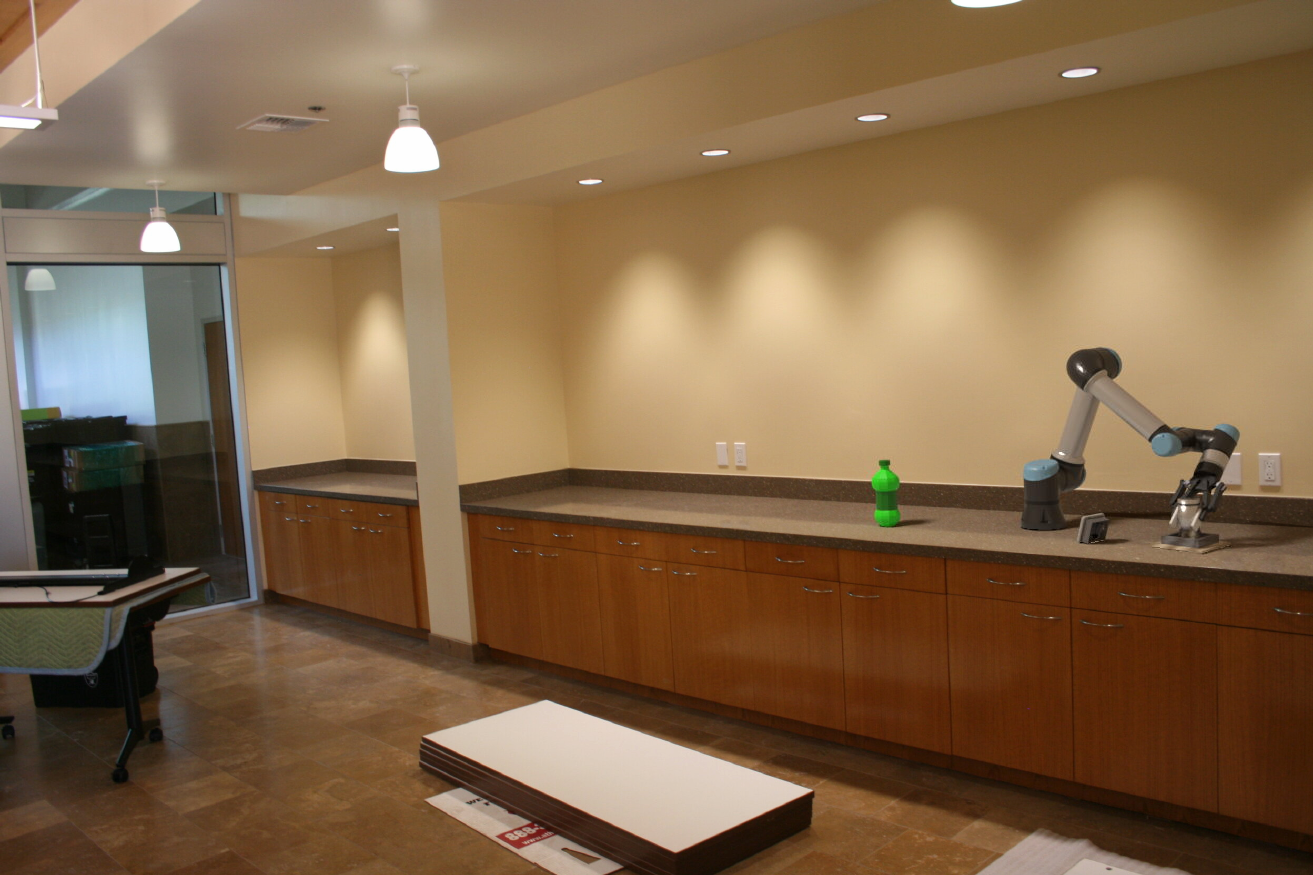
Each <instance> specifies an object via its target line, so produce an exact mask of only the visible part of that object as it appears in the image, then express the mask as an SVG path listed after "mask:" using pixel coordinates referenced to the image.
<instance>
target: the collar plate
mask: <svg viewBox="0 0 1313 875" xmlns="http://www.w3.org/2000/svg"><path fill="white" fill-rule="evenodd" d="M1160 539H1161V540H1159V541H1155V542H1151V543H1149V548H1152V547H1160V548H1169V549H1176V550H1185V551H1193V552H1205V551H1209V550H1213V549H1217V548H1221V547H1224V548H1226V547H1225V546H1227V545H1230V544H1231V545H1232V542H1231V541H1224V540H1220V535H1219V533H1212V532H1211V533H1210V532H1202V531H1201V538H1199V539H1190V538H1182V537H1179V530H1178V531H1173V532H1170V533H1166V534H1163V535H1160ZM1231 545H1230V546H1231ZM1227 547H1228V546H1227ZM1160 548H1159V549H1160ZM1221 549H1222V548H1221ZM1217 550H1218V549H1217Z"/></svg>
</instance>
